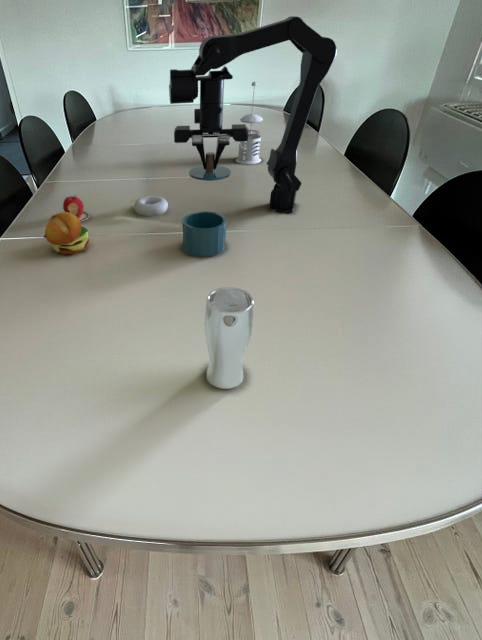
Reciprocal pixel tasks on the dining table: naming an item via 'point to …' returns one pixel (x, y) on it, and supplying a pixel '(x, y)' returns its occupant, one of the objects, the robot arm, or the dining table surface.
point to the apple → (75, 207)
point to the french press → (250, 140)
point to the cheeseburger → (66, 233)
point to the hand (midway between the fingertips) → (209, 169)
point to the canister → (204, 234)
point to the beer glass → (227, 334)
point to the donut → (150, 206)
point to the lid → (210, 170)
